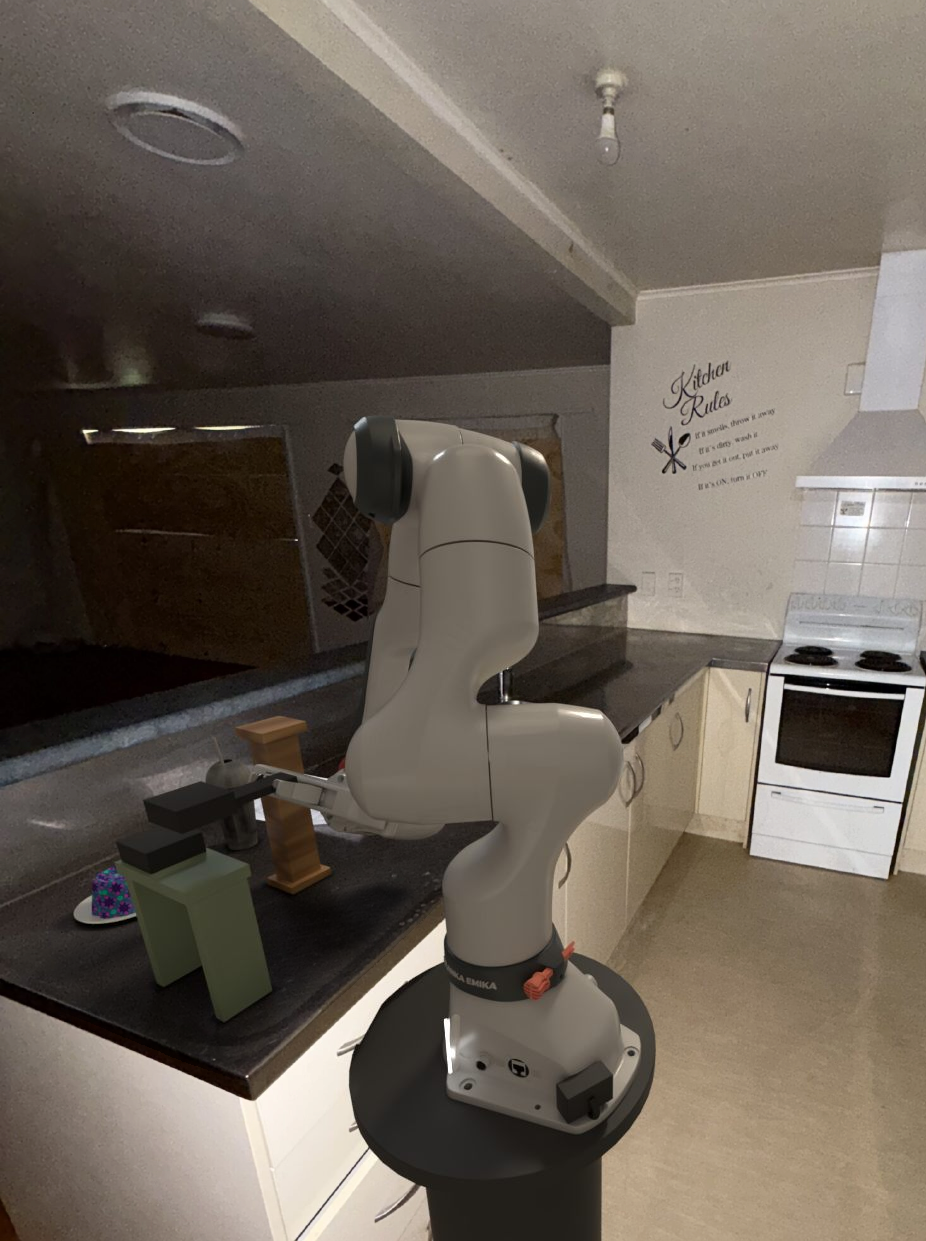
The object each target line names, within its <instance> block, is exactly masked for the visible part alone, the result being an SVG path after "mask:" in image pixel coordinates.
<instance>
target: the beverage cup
mask: <svg viewBox="0 0 926 1241" xmlns="http://www.w3.org/2000/svg"><path fill="white" fill-rule="evenodd" d="M211 741H212V743H213V746H214V749H215V752H216V755H217V758H218V761H216V762H215V763H213V764H212V765H211V766H210V767H209V768H208V769H207V771H206V774H205V778H204V779H205V781H204V782H205V783H208V784H212V785H215V786H218V787H221V788H224V789H228V790H231V789H233V788H236V787H239V786H242V785H245V784H247V782H248V778H249V775H250V774H251V773H252V770H250V768H249V767H248V766H247V765H246V764H245V763H243V762H242V761H240V760H237V759H234V758H225V759H223V756H222V752H221V750H220V747H219V744H218V741H217V739H216V736H212V737H211ZM255 805H256V804H255V800H254V801H251V802H248V803H246V804H243V805H240V806H238V807H237V808H238V813H235V814H233V815H230V816H228V817H225V818H223V819H220V820H218V822H219V824H220V827H221V830H222V833H223V835H224V839H225V841H226V843H227V846H228V848H229V849H230V850H233V851H242V850H247V849H249V848H253V847H254V846H256V845H257V844H258V843H259V839H258V825H257V816H256V807H255Z"/></svg>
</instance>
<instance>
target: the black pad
mask: <svg viewBox="0 0 926 1241" xmlns="http://www.w3.org/2000/svg"><path fill="white" fill-rule="evenodd" d="M275 779H280V780H285V781H289V782H294V783H298V781H297V776H294V775H290V774H287V773H283V772H279V773H276V774H273V775H270V776H267V777H265V778H262V779H259V780H256V781H253V782H250V783H248V784H245V785H242V786H239V787H236V788H233V789H231V790H228V789H224V788H221V787H218V786H215V785H212V784H208V783H205V781H201V780H200V781H196V782H193V783H191V784H188V785H184V786H182V787H178V788H175V789H173V790H172V789H171V790H170V791H166V792H163V793H160V794H157V795H154V796H151V797H148V798H145V799H143V800H142V802H143V806H144V810H145V813H146V817H147V820H148V822H149V823H151V824H154V825H157V826H162V827H164V828H167V829H169V830H172V831H175V832H177V833H180V834H184V833H186V832H189V831H192V830H194V829H195V830H198V829H199V828H202V827H204V826H208V825H210V824H212V823H215V822H217V821H219V820H220V819H223V818H225V817H228V816H230V815H233V814H235V813H238V808H237V807H238V806H240V805H243V804H246V803H248V802H251V801H254V802H255V801H256V800H259V799H261V798H262V797H264V796H267V795H269V794H272V792H271V788H272V786H273V781H274V780H275Z"/></svg>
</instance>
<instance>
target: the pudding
mask: <svg viewBox="0 0 926 1241" xmlns="http://www.w3.org/2000/svg"><path fill="white" fill-rule="evenodd" d="M72 915H73V917H74V919H75V920H76V921H78V922H79V923H83V924H89V925H90V924H92V925H95V924H96V925H97V924H99V925H100V924H110V923H115V922H119V921H125V920H127V919H131V918H134V917H137V916H136V913H135V910H134V906H133V903H132V900H131V896H130V893H129V890H128V887H127V883H126V880H125V877H124V876H122V875H120V874H118V872H117V869H116V866H112V867H109V868H106V869H105V870H104V871H101V872H99V873H97V874H96V875H95V877H94V879H93V880H92V884H91V895H89V896H88V897H86V898H84V900H82V901H81V902H80V903H79V904H77V906H76V907H75V909H74V910H73V914H72Z"/></svg>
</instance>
